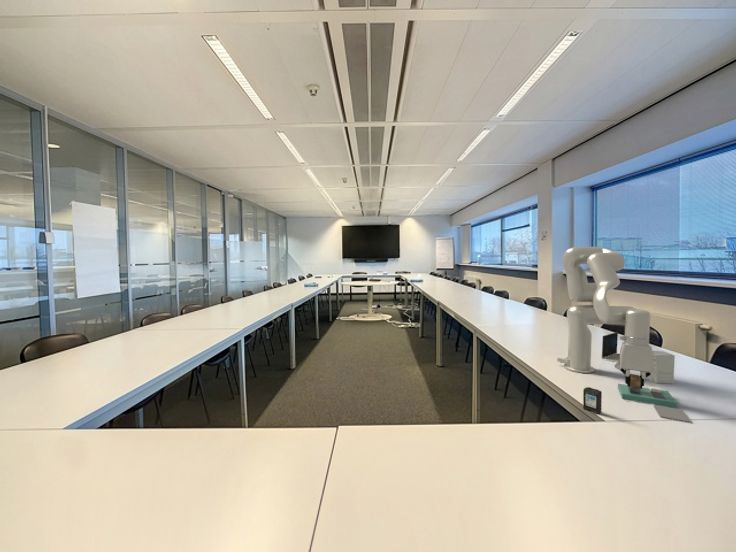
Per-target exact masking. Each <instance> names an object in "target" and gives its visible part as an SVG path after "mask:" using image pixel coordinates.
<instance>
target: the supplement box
mask: <svg viewBox="0 0 736 552" xmlns="http://www.w3.org/2000/svg"><path fill="white" fill-rule="evenodd" d="M652 352H653V366H654V368H655V370H656V371H657V373H656V374H653V375H650V376H648V377H646V379H647V380H649V381H651V382H653V383H655V384H674V383H675V382H674V380H675V359H676V358H675V357H676V356H675V354H673V353H669V352H667V351H663V350H652Z"/></svg>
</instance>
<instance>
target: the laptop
mask: <svg viewBox="0 0 736 552" xmlns="http://www.w3.org/2000/svg"><path fill="white" fill-rule="evenodd" d="M618 333H619V332H618V331H616V332H612V333H609V334H605V335H603V336H602V343H601V345H602V346H601V359H602V360H604V359H606V360H605V361H608V360H609V361H610V362H613V363H617V362H618V361H619V356H620V353H618V339H619V338H618V337H619V335H618Z"/></svg>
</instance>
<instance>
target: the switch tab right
mask: <svg viewBox="0 0 736 552" xmlns="http://www.w3.org/2000/svg"><path fill="white" fill-rule="evenodd" d="M649 388H650V391H652V392H658V393H661V390H662V389H661V388H660V387H657V386H651V385H650V386H649Z"/></svg>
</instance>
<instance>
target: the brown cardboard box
mask: <svg viewBox="0 0 736 552" xmlns="http://www.w3.org/2000/svg"><path fill="white" fill-rule="evenodd" d="M630 377H631V381H630V387H629V390H630V392H635V393H640V384H641V378H640V374H633V373H630Z"/></svg>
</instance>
